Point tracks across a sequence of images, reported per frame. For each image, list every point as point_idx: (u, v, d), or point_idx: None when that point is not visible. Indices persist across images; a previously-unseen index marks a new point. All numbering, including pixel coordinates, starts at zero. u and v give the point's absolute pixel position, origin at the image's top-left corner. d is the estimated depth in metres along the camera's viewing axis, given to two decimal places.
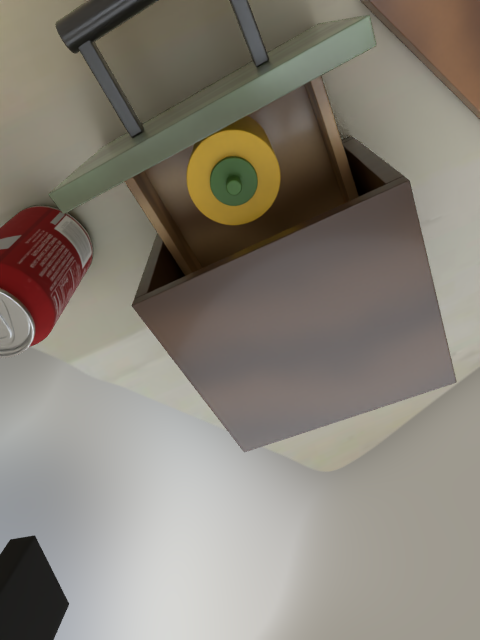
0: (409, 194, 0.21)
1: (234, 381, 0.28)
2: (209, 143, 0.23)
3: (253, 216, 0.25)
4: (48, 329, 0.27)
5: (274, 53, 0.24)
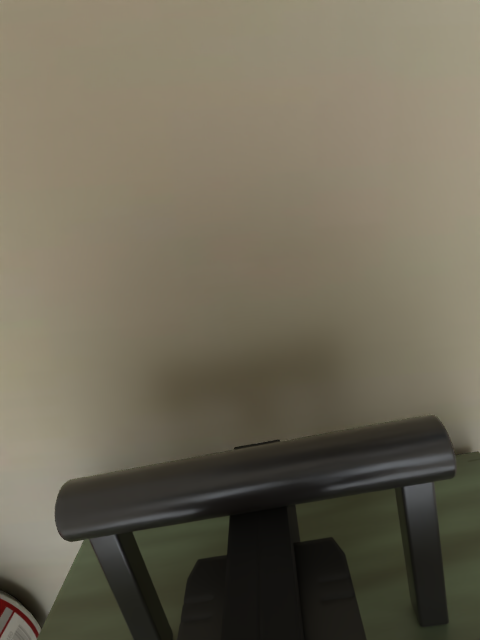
0: None
1: None
2: None
3: None
4: None
5: None
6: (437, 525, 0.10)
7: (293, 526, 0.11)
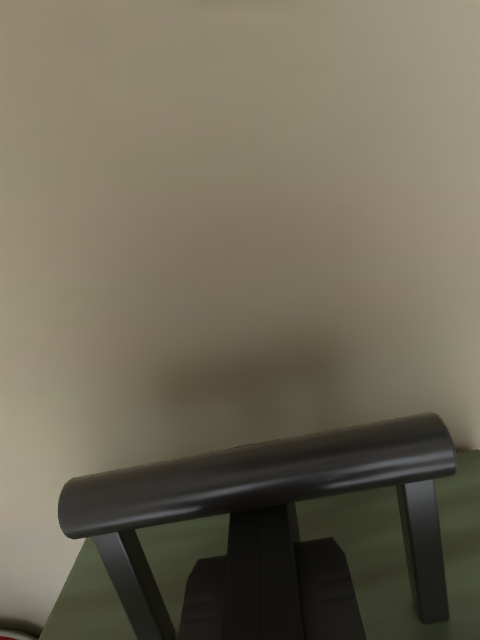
0: None
1: None
2: None
3: None
4: None
5: None
6: (438, 522, 0.10)
7: (293, 526, 0.11)
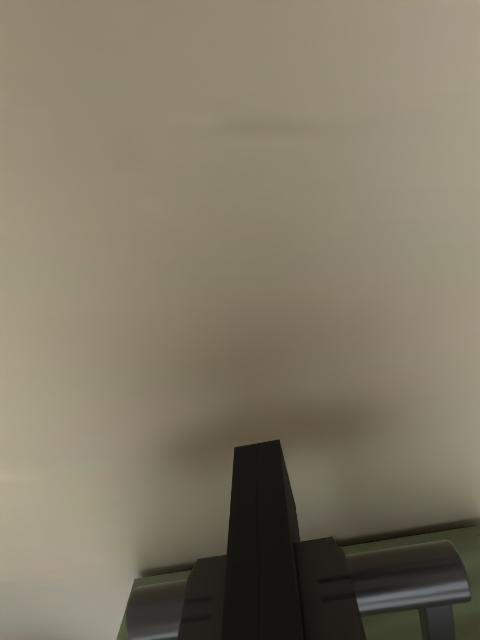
0: None
1: None
2: None
3: None
4: None
5: None
6: (454, 634, 0.12)
7: (293, 526, 0.11)
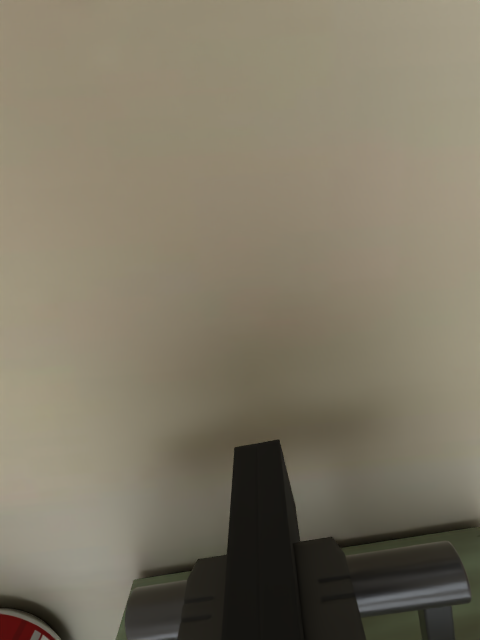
0: None
1: None
2: None
3: None
4: None
5: None
6: (454, 636, 0.12)
7: (293, 526, 0.11)
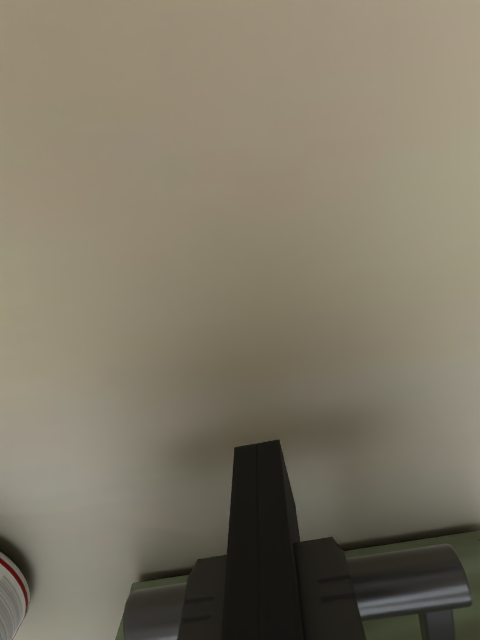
0: None
1: None
2: None
3: None
4: None
5: None
6: None
7: (293, 526, 0.11)
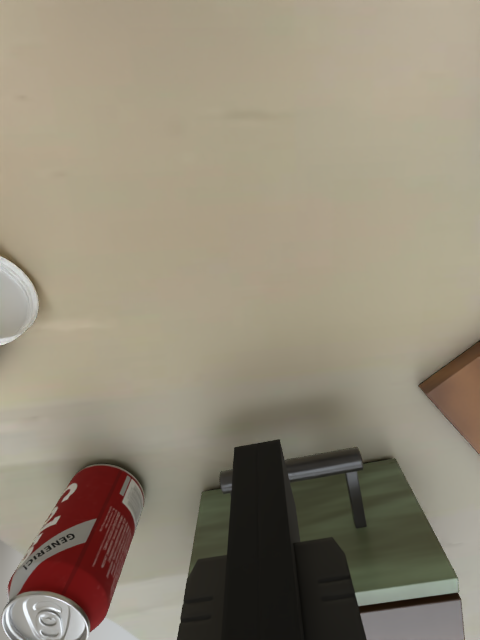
0: (459, 609, 0.24)
1: None
2: None
3: None
4: (95, 627, 0.27)
5: (364, 496, 0.31)
6: (359, 487, 0.27)
7: (293, 526, 0.11)
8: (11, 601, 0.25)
